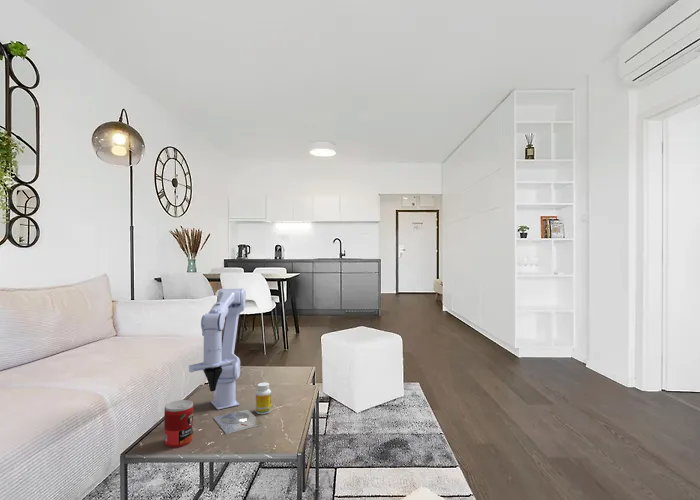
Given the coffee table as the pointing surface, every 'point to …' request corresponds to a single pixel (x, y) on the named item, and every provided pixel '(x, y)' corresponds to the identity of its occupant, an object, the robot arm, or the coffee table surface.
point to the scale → (237, 421)
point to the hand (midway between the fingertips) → (212, 390)
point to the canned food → (178, 423)
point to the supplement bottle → (263, 399)
